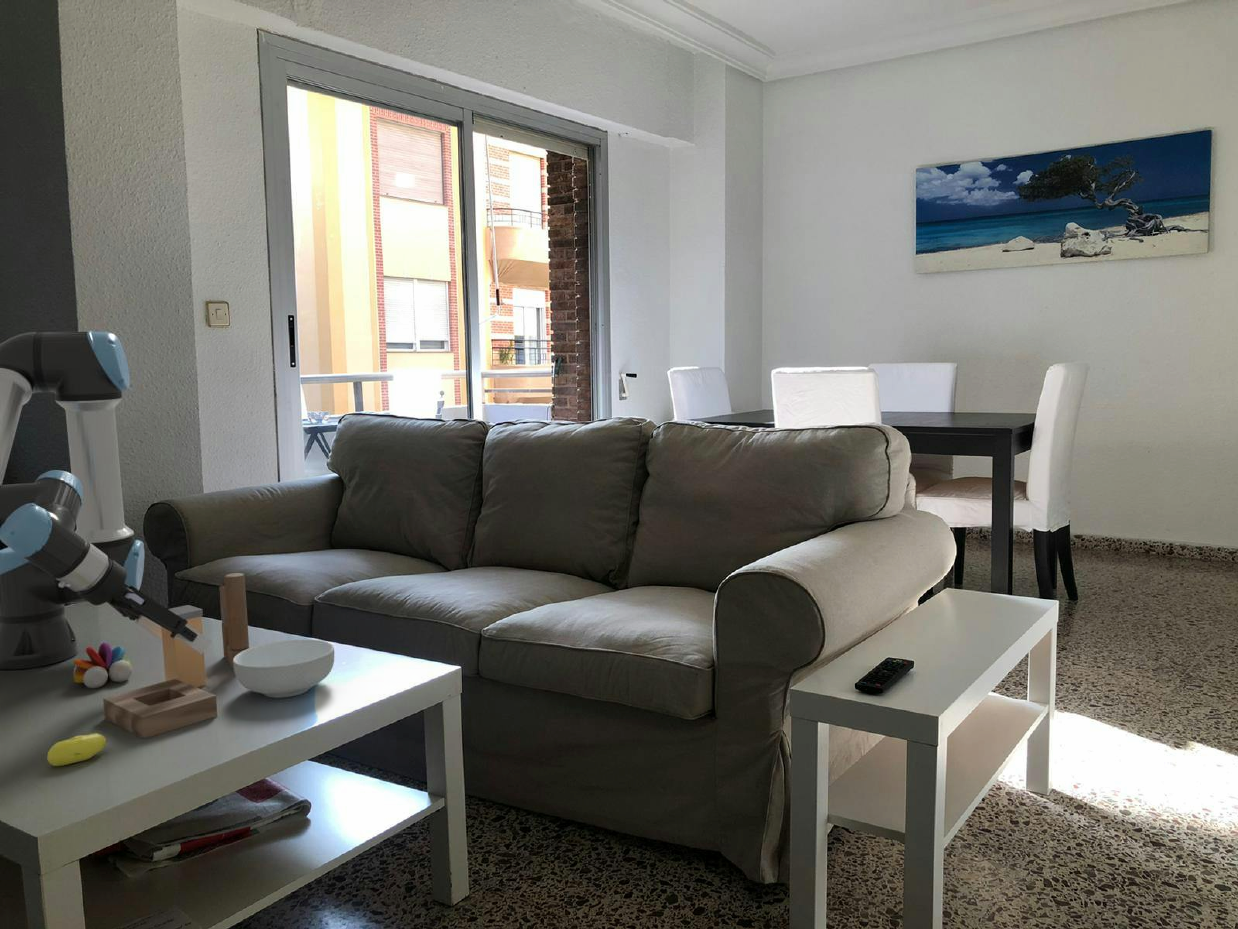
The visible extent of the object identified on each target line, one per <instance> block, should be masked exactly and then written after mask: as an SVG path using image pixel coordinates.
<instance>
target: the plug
mask: <svg viewBox="0 0 1238 929" xmlns="http://www.w3.org/2000/svg"><path fill="white" fill-rule="evenodd" d="M167 609H168V610H170V611H171V612H173V613H175V614H176V615H178V616H179V617H181V618H183V619H186V621H187V622H188V623H187V624H188V625H189V626H191V627H192V628H194V629H195V630H196V631H198V632H199V633H200V634H202V635H203V636H204V634H203V621H202V620H203V618H202V617H203V616H204V614H203V609H202V608H198V607H196V606H192V605H189V604H186V605H182V606H177V607H172V608H167ZM161 629H162V640H161V641H162V653H163V663H164V664H163V665H164V666H163V668H164V679H165V681H169V680H173V679H177V680H179V681H182V682H184V683H187V684H189V685H192V686H194V687H197V688H199V687H203V686H207V676H206V663H205V651H204V652H203V653H202V654H199V653H198V652H196V651H195V650H193V649H192V648H191V647H189V646H188V645H186V644H185V643H183V642H182V641H181V640H179V639H178V638H176V637H174V638H171V637H170V635H171V634H172V632H170V631H168V630H167V629H165V628H163V627H161ZM165 681H164V682H165Z"/></svg>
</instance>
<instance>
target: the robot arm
mask: <svg viewBox="0 0 1238 929" xmlns="http://www.w3.org/2000/svg"><path fill="white" fill-rule="evenodd" d="M130 387H131V379H130V370H129V365H128V361H127V356H126V354H125V350H124V347H123V345H122V343H121V341H120V339H119V338H118V337H117V335H116V334H114V333H111V332H106V331H105V332H104V331H92V330H88V331H57V332H56V331H54V332H53V331H52V332H51V331H50V332H47V331H46V332H40V331H37V332H36V331H31V332H29V331H28V332H25V333H21V334H18V335H15V336H12V337H10V338H8V339H6V340H5V341H3V342H1V343H0V541H1V542H2V543H3V544H4V545H6V546H7V547H5V548H3V549H0V670H21V669H31V668H32V669H33V668H38V667H43V666H47V665H52V664H55V663H60V662H63V661H65V660H68V659H70V658H73V657H75V656H76V655H77V654H78V653H79V642H78V639H77V637H76V634H75V632H74V631H73V629H72V627H71V624H70V623H69V620H68V618H67V616H66V608H65V605H69V604H81V603H90V604H91V605H93V606H100V605H101V606H102V605H104V604H105V603H107V604H109V605H110V606H111V607H112V608H114V610H116V611H117V612H118V613H119V614H120V615H122V617H124V618H128V619H129V620H130V621H134V622H135V623H136V624H137V625H138V626H140V627H141V628H143V629H145V630H146V631H148V632H149V633H151V635H154V636H155V637H156V638H157V639H158V640H160V641H162V629H161V627H163V628H165V629H167V630H168V631H170V632H172V634H171V635H170V637H171V638H174V637H176V638H178V639H179V640H181V641H182V642H183V643H185V644H186V645H188V646H189V647H191V648H192V649H193V650H195V651H196V652H198V653H199V654H202V653H203V652H204V653H205V650H206V649H207V648H208V647H209V645H210V644H211V642H212V641H211V640H210V639H209V638H207V637H206V636H205V635H204V634H203V635H202V634H200V633H199V632H198V631H196V630H195V629H194V628H192V627H191V626H189V625H188V624H187V623H188V622H187V621H186V619H183V618H181V617H179V616H178V615H176V614H175V613H173V612H171V611H170V610H168V609H169V608H166V607H165V606H163V605H162V604H160V603H159V602H157V601H156V600H154V599H152V598H150V597H149V596H147V595H146V594H144V593H143V592H142V591H141V590H140V588H141V586H142V581H143V575H144V569H145V568H144V567H145V543H144V542H143V541H142V540H139V539H136V540H135V533H134V532H135V531H134V530H133V529H131V528H130V527H129V526H127V525H126V523H125V513H124V501H123V500H124V499H123V491H122V478H121V477H122V476H121V468H120V467H121V466H120V458H119V455H120V454H119V444H118V432H117V431H118V430H117V420H116V410H115V409H116V407H117V406H118V405H119V404H120V402H122V400H123V394H122V393H123V392H125V391H128V390H129V389H130ZM35 393H54V397H55V398H54V399H55V402H56V404H57V405H59V406H60V407H62V408H63V409H64V411H65V419H66V428H67V440H68V451H69V460H70V461H69V462H70V470H71V471H70V472H71V473H70V472H68V471H64V470H60V469H59V470H58V469H57V470H56V469H54V470H48V471H46V472H44V473H42V474H39V476H38V477H37V478H36V480H35V481H34V482H31V483H13V484H3V483H4V482H3V480H4V478H5V474H6V470H7V467H8V466H7V465H8V462H9V459H10V454H11V451H12V447H13V444H14V439H15V436H16V432H17V427H18V426H19V425H18V424H19V421H20V417H21V412H22V409H23V406H24V405H26V404H27V403H29V401H30V400H31V399H32V395H33V394H35ZM75 528H76V530H75Z"/></svg>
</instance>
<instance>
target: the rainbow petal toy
mask: <svg viewBox="0 0 1238 929" xmlns="http://www.w3.org/2000/svg"><path fill="white" fill-rule="evenodd" d="M85 652H86V654H87V656H88V658H89V659H80V658H76V659H75V660H74V661H73V664H74V669H73V677H72V678H73V681H74V682H75V683H79V684H84V685H85V687H87V688H89V689H98V688H100V687H101V688H102V687H103V686H104V685H105V684H106V683H107V681H108V677H109V679H110V680H111V681H112V682H115V683H122V682H125V681H127V680H128V679H130V677H131V676H132V674H133V673H132V672H133V667H132V665H131V664H132V663H131V661H130V660H129V659H125V658H124V655H125V653H126V650H125V648H124V647H123V646H121V645H119V646H115V647H114V648H113V649H112V646H111V644H110V643H109V642H107V641H105V642H102V643H101V644H100V646H99V647H98V651H96V649H94V648H93V647H91V646H88V647H86V648H85Z"/></svg>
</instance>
